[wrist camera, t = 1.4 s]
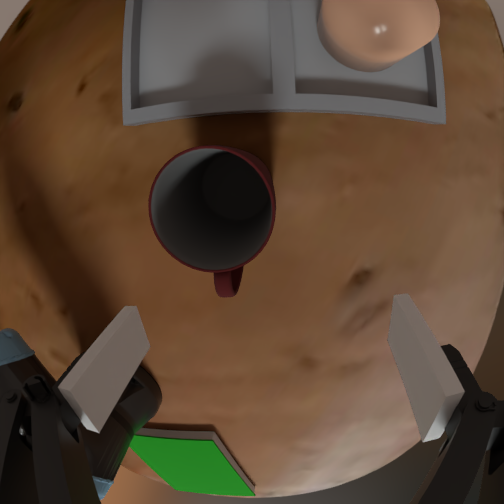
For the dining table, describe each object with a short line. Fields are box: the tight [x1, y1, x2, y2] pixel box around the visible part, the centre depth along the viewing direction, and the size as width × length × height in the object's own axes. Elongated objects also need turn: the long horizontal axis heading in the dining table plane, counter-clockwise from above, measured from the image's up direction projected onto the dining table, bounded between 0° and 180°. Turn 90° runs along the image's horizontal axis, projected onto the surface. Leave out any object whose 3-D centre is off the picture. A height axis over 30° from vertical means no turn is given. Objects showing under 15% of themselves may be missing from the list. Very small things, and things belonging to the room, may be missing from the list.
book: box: [129, 428, 255, 496], centre depth 52 cm, size 22×28×3 cm
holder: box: [122, 0, 446, 126], centre depth 22 cm, size 32×18×3 cm, turn 92°
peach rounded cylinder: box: [317, 0, 440, 72], centre depth 18 cm, size 9×9×9 cm
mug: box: [149, 145, 276, 297], centre depth 25 cm, size 12×9×11 cm
